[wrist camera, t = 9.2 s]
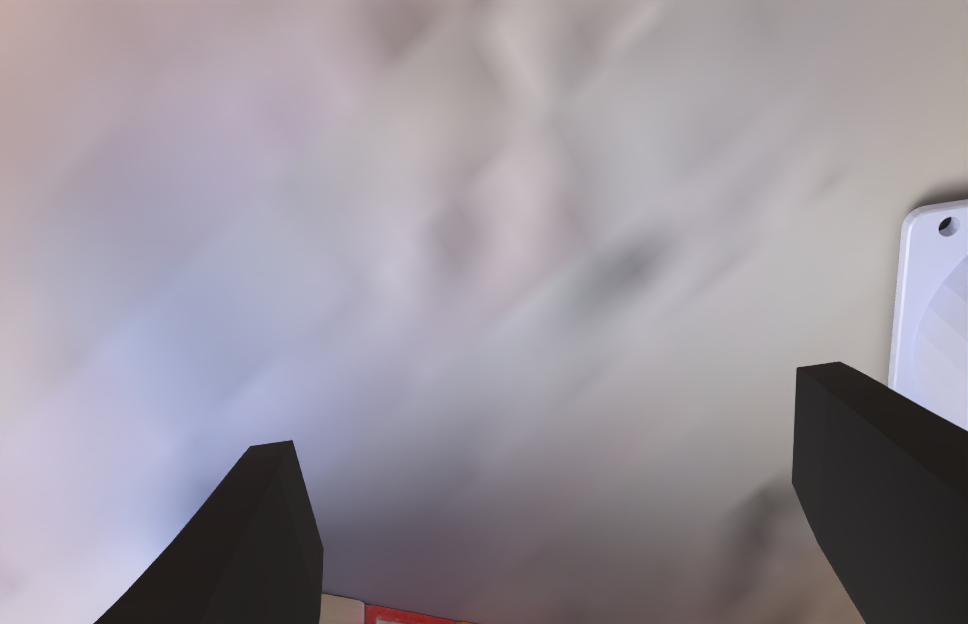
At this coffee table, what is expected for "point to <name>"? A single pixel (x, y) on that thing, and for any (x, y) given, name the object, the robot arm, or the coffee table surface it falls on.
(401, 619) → the stack of blocks
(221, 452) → the coffee table surface
